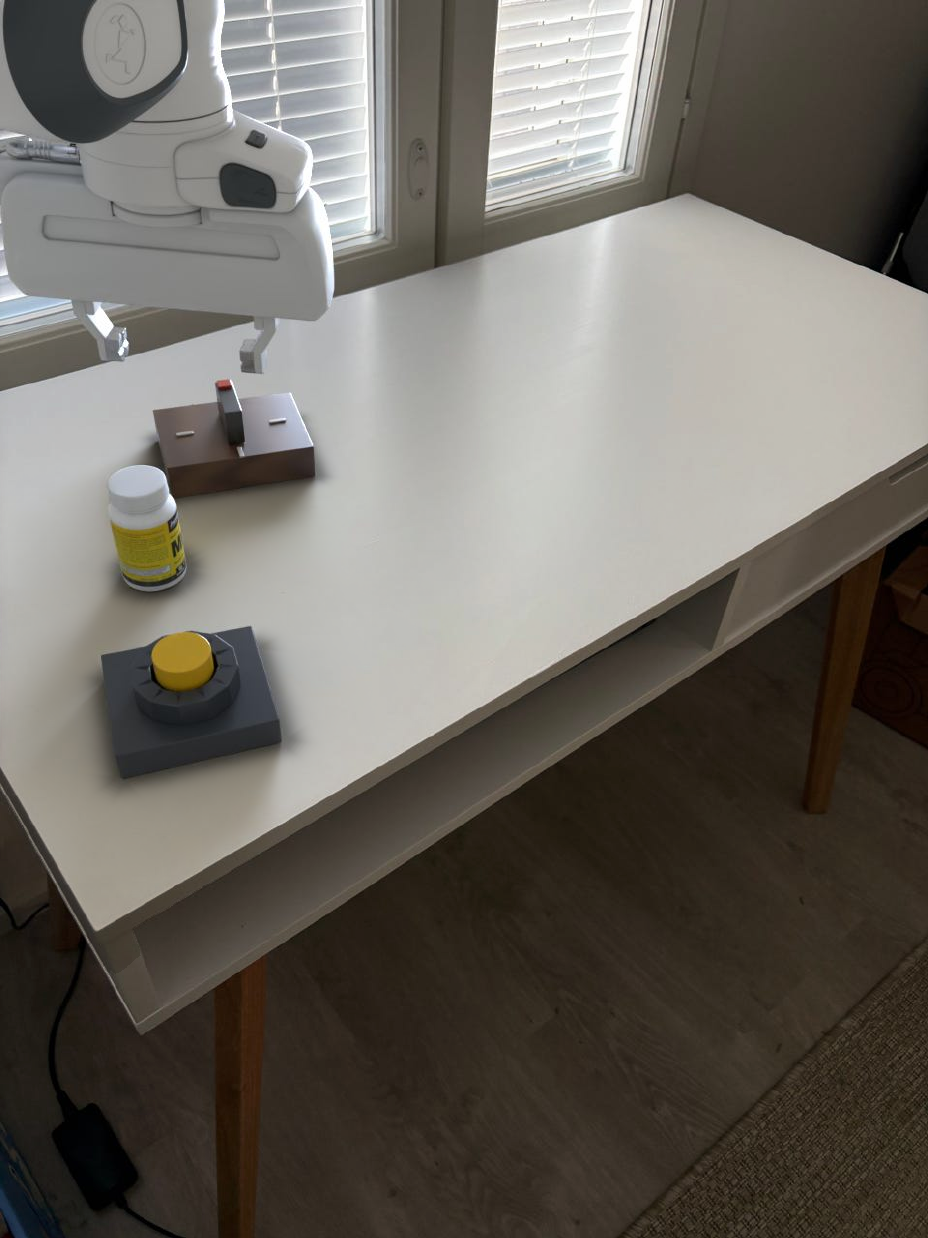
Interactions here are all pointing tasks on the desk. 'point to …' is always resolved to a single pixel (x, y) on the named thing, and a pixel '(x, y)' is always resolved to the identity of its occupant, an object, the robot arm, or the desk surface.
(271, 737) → the button block
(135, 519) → the supplement bottle
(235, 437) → the dial knob
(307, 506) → the desk surface
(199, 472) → the dial panel
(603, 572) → the desk surface
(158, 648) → the trigger button
